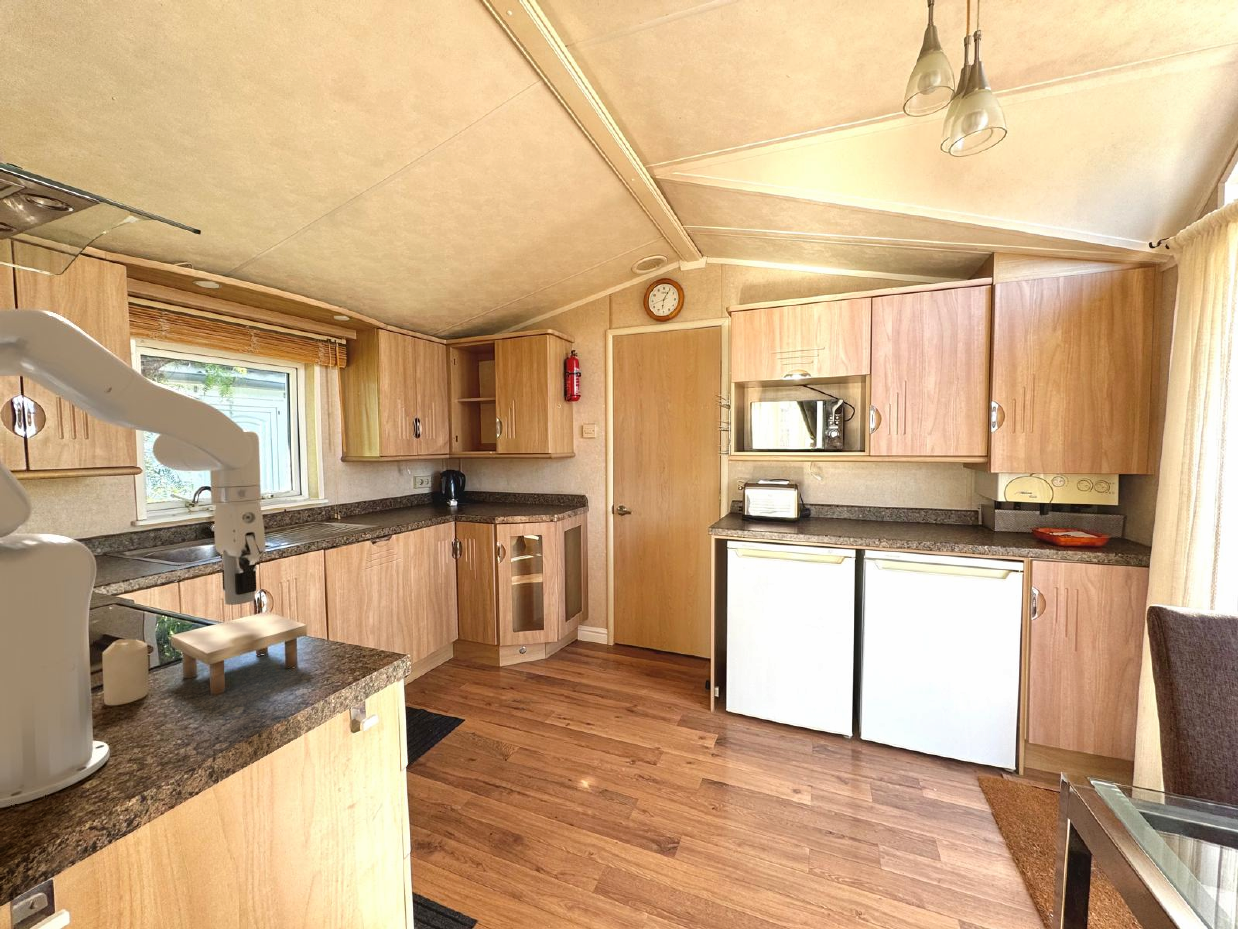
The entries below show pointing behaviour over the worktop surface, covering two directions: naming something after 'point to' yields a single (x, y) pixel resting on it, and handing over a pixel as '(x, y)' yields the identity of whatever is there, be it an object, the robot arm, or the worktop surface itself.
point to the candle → (125, 672)
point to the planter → (233, 582)
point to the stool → (236, 643)
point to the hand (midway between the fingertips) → (239, 589)
